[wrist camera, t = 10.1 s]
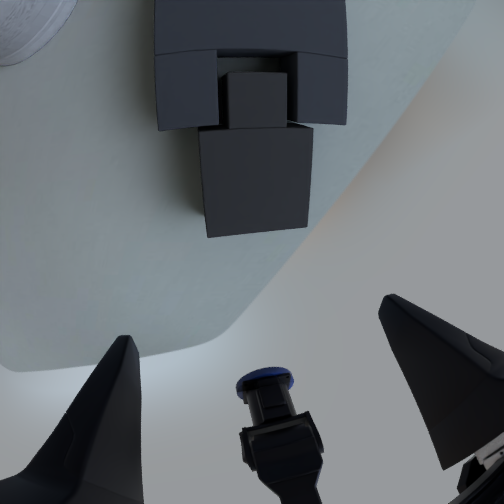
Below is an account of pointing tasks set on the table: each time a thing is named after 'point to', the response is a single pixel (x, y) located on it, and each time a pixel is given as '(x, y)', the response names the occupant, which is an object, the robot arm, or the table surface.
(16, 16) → the glass holder
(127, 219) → the table surface
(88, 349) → the table surface
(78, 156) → the table surface
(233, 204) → the black tabbed block
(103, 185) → the table surface
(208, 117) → the dark grey block
